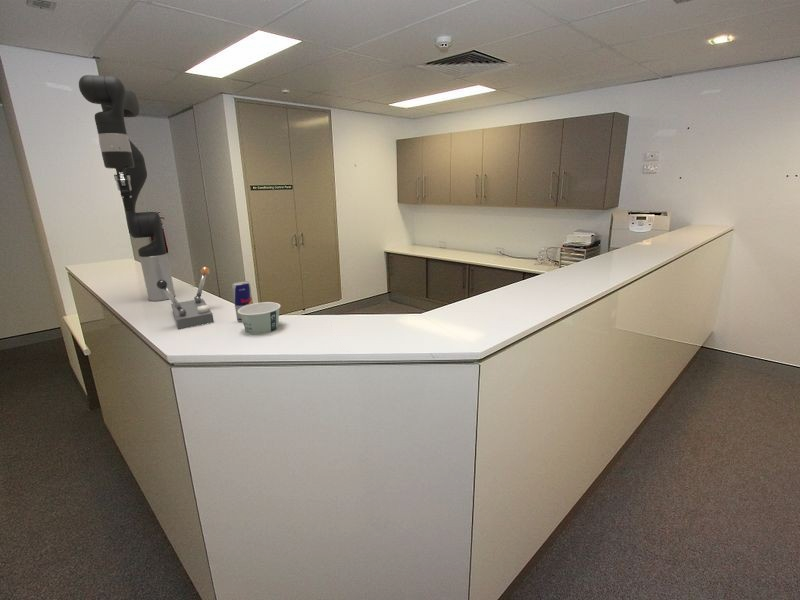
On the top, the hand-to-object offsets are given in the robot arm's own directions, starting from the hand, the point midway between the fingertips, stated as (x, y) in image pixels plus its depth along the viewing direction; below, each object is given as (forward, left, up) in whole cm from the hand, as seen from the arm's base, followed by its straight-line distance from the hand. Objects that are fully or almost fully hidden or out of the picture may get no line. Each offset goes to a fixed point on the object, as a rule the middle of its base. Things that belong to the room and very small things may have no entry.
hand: (129, 211), depth 125 cm
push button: (+13, +14, -32) cm, 37 cm away
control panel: (+6, +11, -35) cm, 37 cm away
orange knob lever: (0, +14, -31) cm, 34 cm away
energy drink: (+21, +25, -35) cm, 48 cm away
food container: (+33, +27, -35) cm, 55 cm away
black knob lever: (+13, +8, -31) cm, 35 cm away
